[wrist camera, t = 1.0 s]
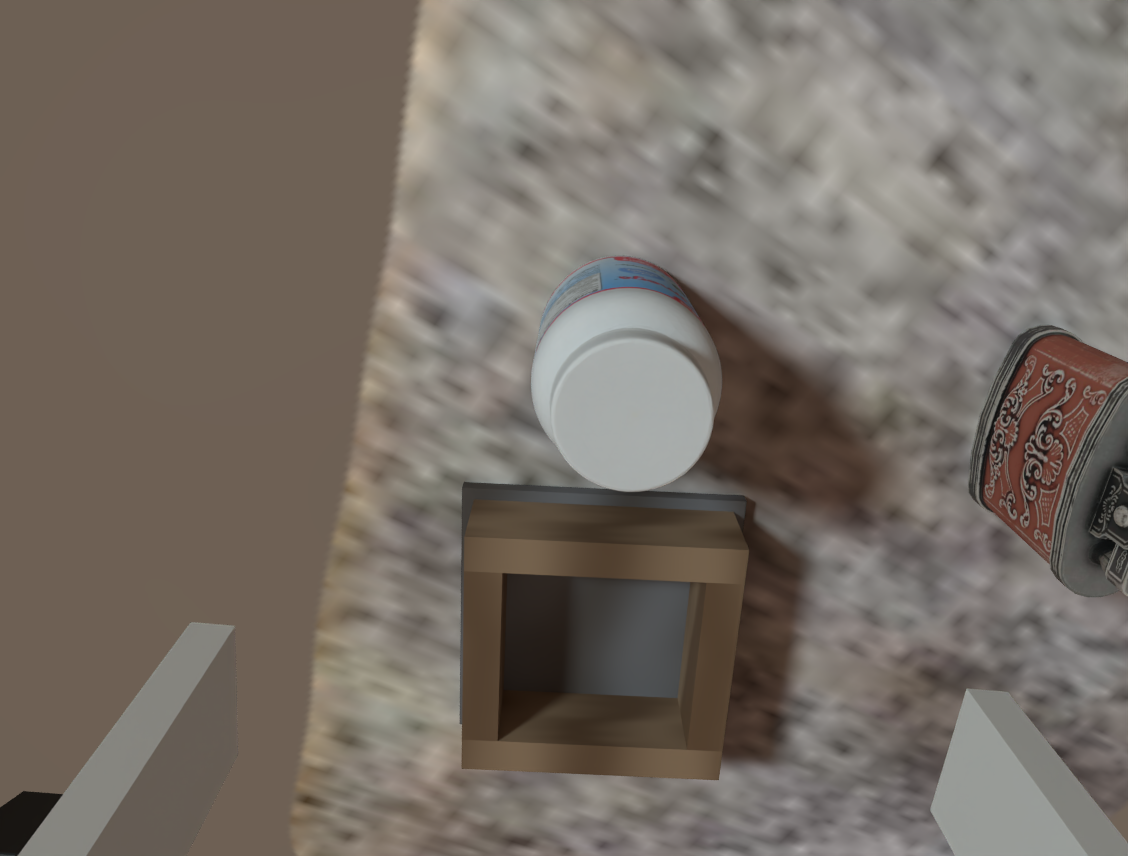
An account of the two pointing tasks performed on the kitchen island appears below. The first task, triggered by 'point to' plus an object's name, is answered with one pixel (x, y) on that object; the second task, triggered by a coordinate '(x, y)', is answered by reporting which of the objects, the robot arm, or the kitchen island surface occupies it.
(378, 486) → the kitchen island surface
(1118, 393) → the lighter
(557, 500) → the socket
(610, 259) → the pill bottle
